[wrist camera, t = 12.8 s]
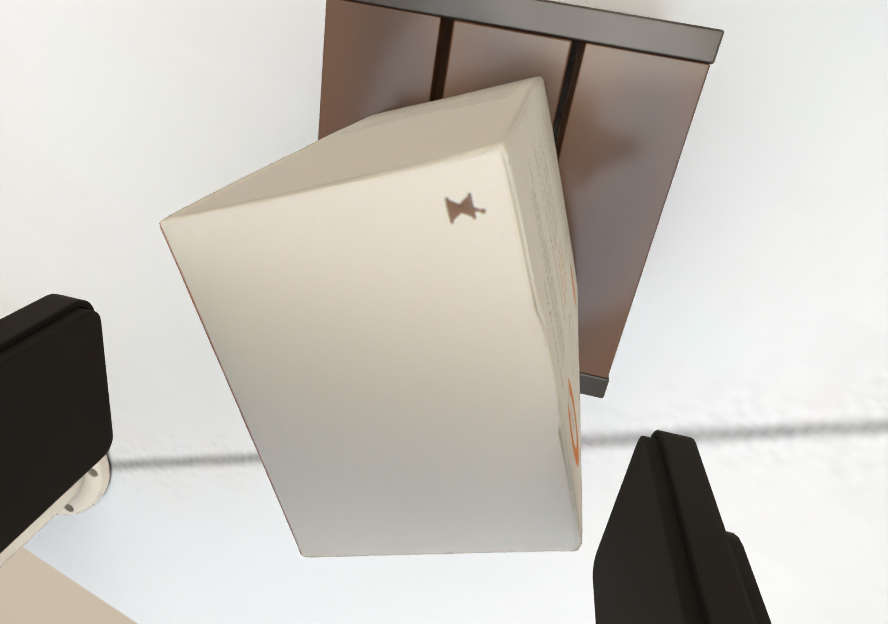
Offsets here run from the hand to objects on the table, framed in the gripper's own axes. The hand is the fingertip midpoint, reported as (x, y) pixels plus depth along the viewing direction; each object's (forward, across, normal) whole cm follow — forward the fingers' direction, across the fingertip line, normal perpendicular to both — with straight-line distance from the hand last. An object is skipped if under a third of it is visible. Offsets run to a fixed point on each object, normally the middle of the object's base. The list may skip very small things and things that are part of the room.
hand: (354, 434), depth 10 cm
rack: (+26, -1, -1) cm, 26 cm away
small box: (+14, 0, 0) cm, 14 cm away
